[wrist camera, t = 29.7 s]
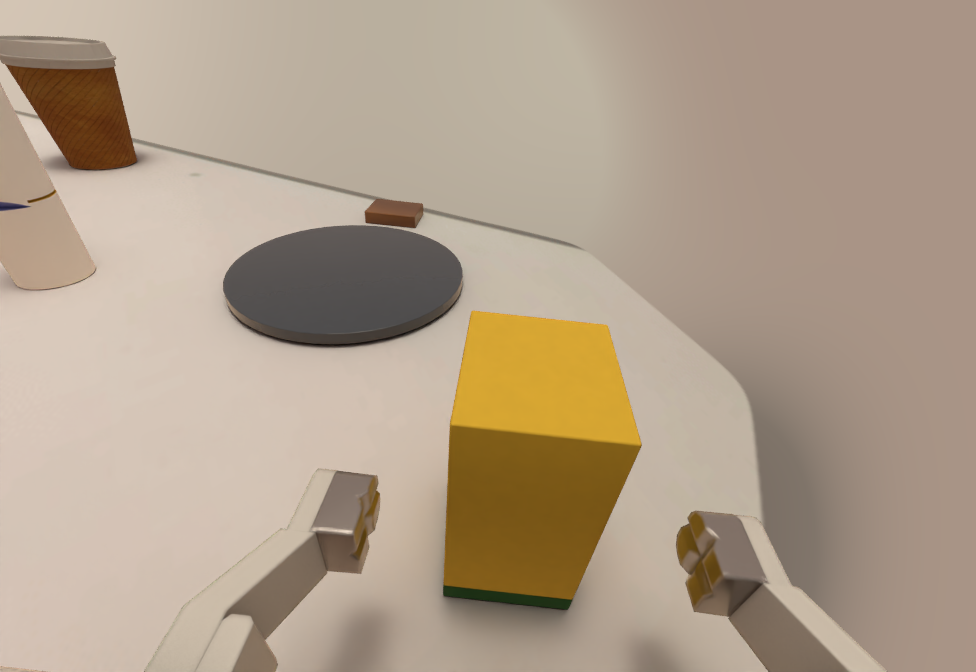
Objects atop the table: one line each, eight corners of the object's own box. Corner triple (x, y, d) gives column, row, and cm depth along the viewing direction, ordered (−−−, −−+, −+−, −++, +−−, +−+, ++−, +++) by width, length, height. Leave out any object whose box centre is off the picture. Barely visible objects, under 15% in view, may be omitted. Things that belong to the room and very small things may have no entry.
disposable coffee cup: (151, 150, 56) (111, 39, 48) (154, 170, 49) (109, 46, 42) (55, 155, 51) (-5, 33, 44) (45, 177, 45) (-26, 40, 38)
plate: (442, 233, 41) (442, 223, 41) (485, 334, 28) (486, 321, 28) (250, 238, 37) (247, 227, 36) (196, 360, 24) (190, 346, 23)
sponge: (568, 610, 15) (643, 445, 10) (442, 596, 15) (449, 424, 10) (558, 487, 19) (608, 324, 14) (460, 477, 19) (471, 309, 14)
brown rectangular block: (415, 228, 42) (415, 216, 41) (365, 223, 42) (364, 211, 41) (423, 214, 45) (423, 203, 44) (377, 209, 45) (376, 198, 44)
